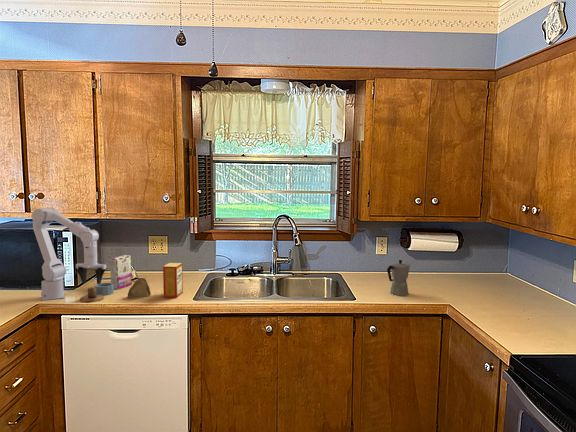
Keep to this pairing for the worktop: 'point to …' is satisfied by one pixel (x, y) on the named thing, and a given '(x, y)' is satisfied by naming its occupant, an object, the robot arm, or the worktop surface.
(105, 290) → the slate bowl
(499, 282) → the worktop surface
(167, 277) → the baking soda box
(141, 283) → the rock
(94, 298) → the walnut lid
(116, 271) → the candy bar box
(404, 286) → the coffeepot
